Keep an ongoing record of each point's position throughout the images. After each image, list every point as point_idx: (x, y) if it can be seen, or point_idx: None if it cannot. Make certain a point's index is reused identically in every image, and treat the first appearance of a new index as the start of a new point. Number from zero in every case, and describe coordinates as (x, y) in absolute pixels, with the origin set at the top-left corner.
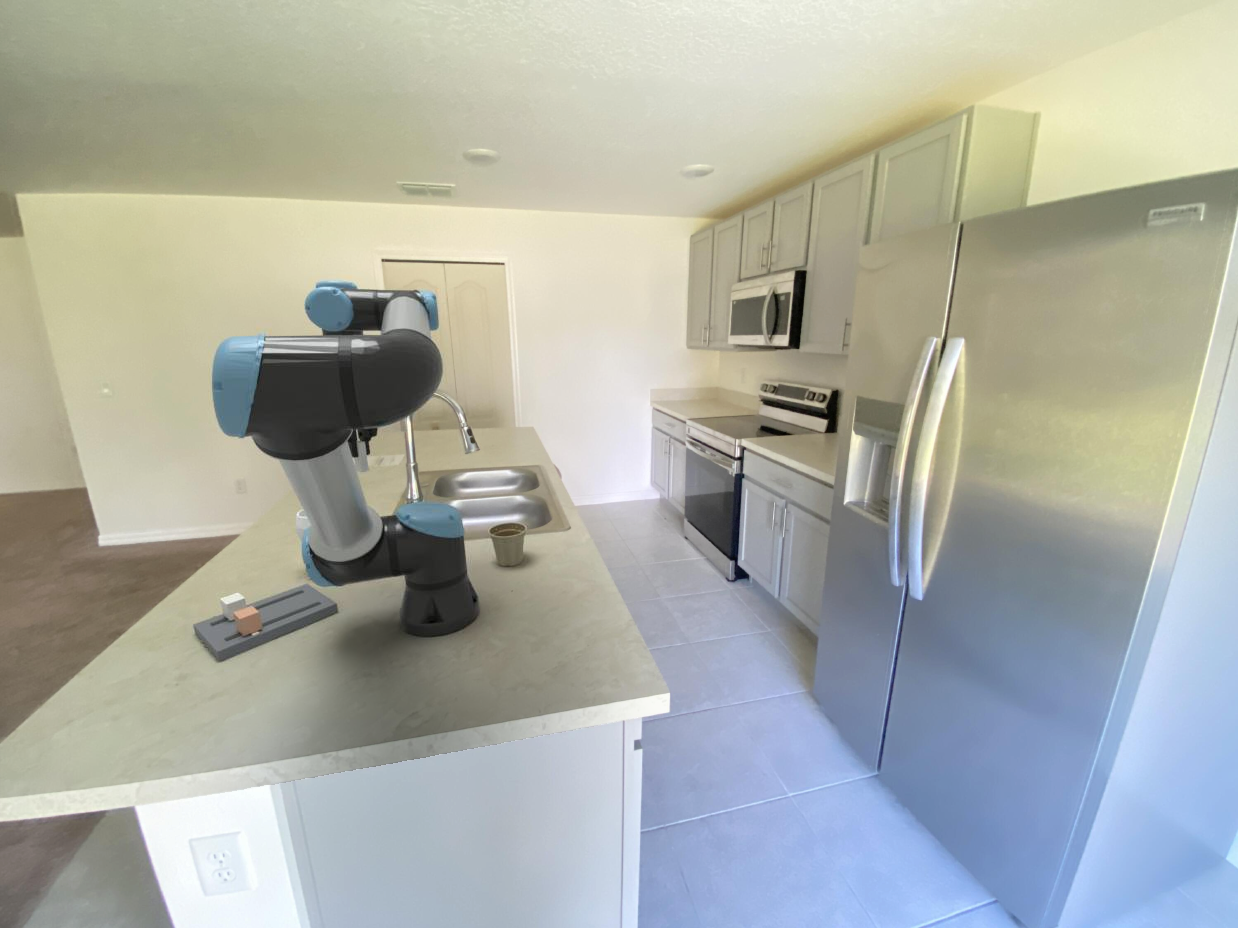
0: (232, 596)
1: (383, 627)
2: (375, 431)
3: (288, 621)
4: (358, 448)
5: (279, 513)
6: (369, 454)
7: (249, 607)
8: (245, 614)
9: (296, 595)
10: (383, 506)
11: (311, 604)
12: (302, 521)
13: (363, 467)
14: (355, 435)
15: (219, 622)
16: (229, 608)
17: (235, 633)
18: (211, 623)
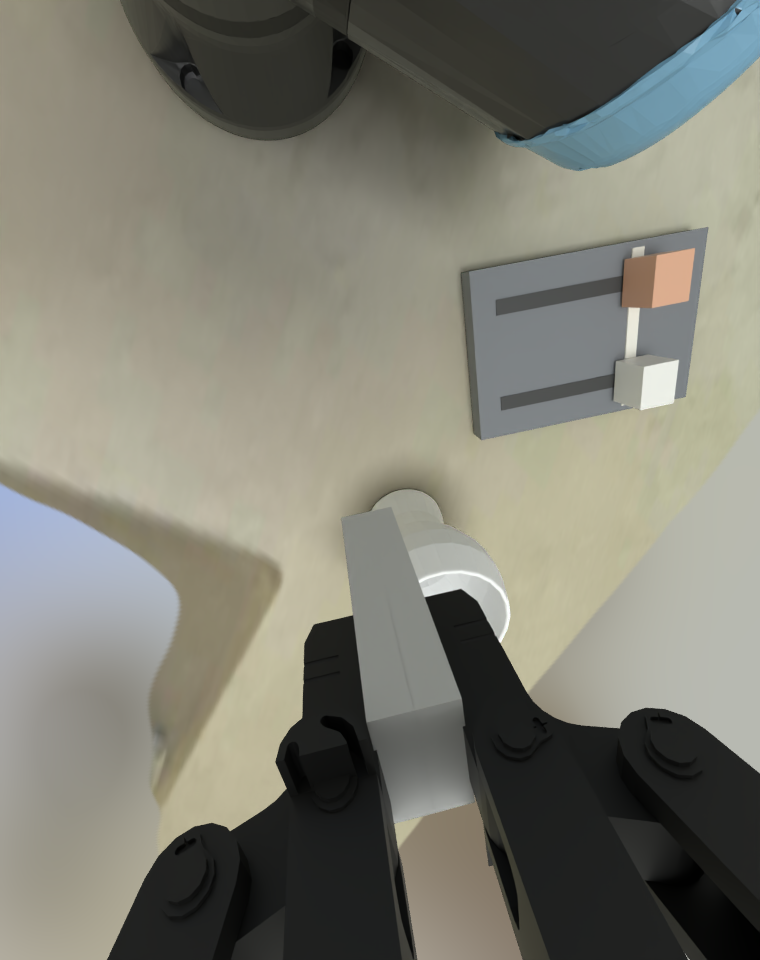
0: (654, 396)
1: (406, 77)
2: (147, 947)
3: (574, 260)
4: (441, 643)
5: (402, 832)
6: (314, 626)
7: (659, 300)
8: (678, 265)
9: (517, 391)
10: (205, 793)
11: (512, 312)
12: (503, 585)
13: (380, 527)
14: (526, 821)
15: None
16: (665, 359)
17: None
18: None
